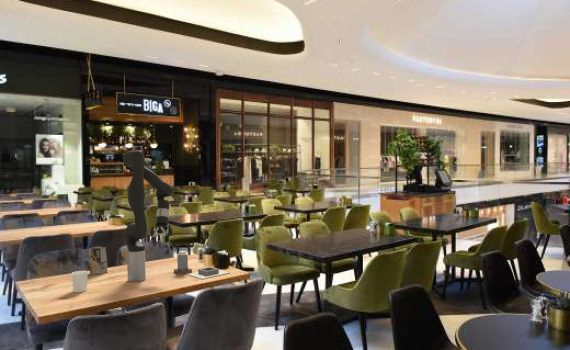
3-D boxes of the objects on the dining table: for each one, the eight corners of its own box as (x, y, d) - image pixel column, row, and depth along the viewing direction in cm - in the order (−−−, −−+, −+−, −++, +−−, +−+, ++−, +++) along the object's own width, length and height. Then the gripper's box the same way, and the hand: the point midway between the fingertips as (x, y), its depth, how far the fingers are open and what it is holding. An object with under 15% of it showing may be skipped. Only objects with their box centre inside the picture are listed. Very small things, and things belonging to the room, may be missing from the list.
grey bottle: (181, 273, 287) (181, 252, 287) (177, 272, 290) (177, 251, 290) (188, 272, 290) (187, 251, 290) (184, 271, 293) (183, 250, 293)
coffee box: (108, 272, 296) (107, 246, 295) (101, 274, 290) (100, 248, 289) (95, 271, 298) (95, 246, 298) (89, 273, 292) (88, 248, 292)
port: (202, 279, 272) (202, 274, 271) (187, 275, 283) (187, 270, 283) (229, 273, 285) (229, 268, 285) (214, 269, 297) (214, 264, 297)
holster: (180, 274, 285) (180, 271, 284) (173, 272, 290) (173, 269, 290) (191, 272, 290) (191, 269, 290) (184, 270, 296) (184, 267, 296)
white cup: (83, 288, 258) (82, 269, 258) (90, 290, 253) (90, 271, 253) (69, 291, 252) (68, 272, 252) (76, 293, 247) (75, 274, 247)
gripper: (149, 216, 286) (146, 243, 280) (168, 214, 281) (166, 240, 275) (156, 219, 292) (154, 245, 287) (176, 217, 287) (174, 243, 282)
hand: (160, 243), depth 281 cm, fingers open, 8 cm apart
